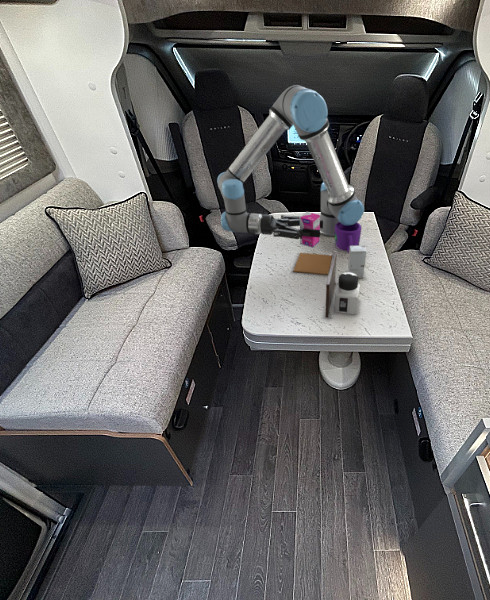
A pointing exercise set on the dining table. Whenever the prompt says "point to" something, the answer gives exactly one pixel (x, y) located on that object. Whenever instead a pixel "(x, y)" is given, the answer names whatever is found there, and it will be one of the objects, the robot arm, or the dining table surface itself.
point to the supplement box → (309, 222)
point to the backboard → (330, 284)
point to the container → (347, 293)
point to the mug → (347, 236)
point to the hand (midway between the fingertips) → (321, 228)
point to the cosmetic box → (357, 260)
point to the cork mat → (313, 263)
